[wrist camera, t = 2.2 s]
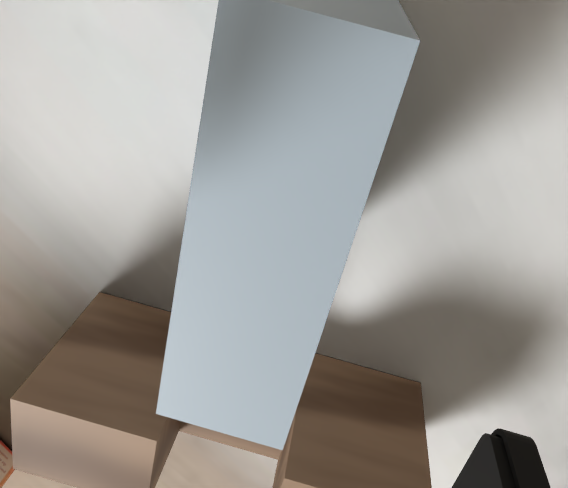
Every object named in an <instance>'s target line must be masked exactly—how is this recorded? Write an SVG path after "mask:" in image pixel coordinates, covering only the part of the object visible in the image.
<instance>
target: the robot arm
mask: <svg viewBox="0 0 568 488" xmlns="http://www.w3.org/2000/svg"><path fill="white" fill-rule="evenodd" d="M452 488H550V485H549V482H548V479H547V476H546V473H545V470H544V467H543V464H542V461H541V458H540V455H539V452H538V449H537V446H536V444H535V442H534V440H533V439H532V438H530V437H527V436H524V435H520V434H517V433H513V432H510V431H506V430H503V429H496V430H495V431H494V432H493V433H492V434H491V435H490V434H486V433H485V434H484V435H482V437H481V438H480V440H479V442H478V443H477V445H476V447H475V448H474V450H473V452H472V454H471V455H470V457H469V459H468V460H467V462H466V464H465V466H464V467H463V469H462V471H461V473H460V474H459V476H458V478H457V479H456V481H455V483H454V485H453V486H452Z"/></svg>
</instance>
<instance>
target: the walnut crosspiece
mask: <svg viewBox="0 0 568 488" xmlns="http://www.w3.org/2000/svg"><path fill="white" fill-rule="evenodd" d="M170 317H171V312H168V311H165V310H161V309H158V308H154V307H151V306H147V305H144V304H140V303H137V302H133V301H130V300H126V299H122V298H119V297H115V296H112V295H108V294H105V293H101V292H99V293H98V295H97V296H96V297H95V298H94V299H93V301H92V302H91V303H90V304H89V305H88V306H87V308H86V309H85V310H84V311H83V312H82V314H81V315H80V316H79V317H78V318H77V320H76V321H75V322H74V323H73V324H72V326H71V327H70V328H69V329H68V330H67V332H66V333H65V334H64V335H63V336H62V338H61V339H60V340H59V341H58V342H57V343H56V345H55V346H54V347H53V348H52V349H51V351H50V352H49V353H48V354H47V355H46V357H45V358H44V359H43V360H42V361H41V363H40V364H39V365H38V366H37V367H36V369H35V370H34V371H33V372H32V373H31V374H30V376H29V377H28V378H27V379H26V380H25V382H24V383H23V384H22V385H21V386H20V388H19V389H18V390H17V391H16V392H15V394H14V395H13V396H12V397H11V398H10V406H11V432H12V458H13V469H15V470H19V471H22V472H26V473H29V474H32V475H36V476H39V477H43V478H46V479H50V480H53V481H56V482H60V483H63V484H67V485H70V486H73V487H77V488H155V486H156V483H157V481H158V479H159V476H160V474H161V472H162V469H163V467H164V465H165V462H166V460H167V457H168V455H169V453H170V450H171V448H172V446H173V443H174V441H175V438H176V436H177V434H178V431H181V432H184V433H188V434H191V435H195V436H198V437H202V438H205V439H209V440H212V441H215V442H219V443H222V444H226V445H229V446H233V447H236V448H240V449H243V450H247V451H250V452H254V453H257V454H260V455H264V456H267V457H271V458H274V459H278V463H277V468H276V473H275V478H274V483H273V488H431V478H430V468H429V459H428V449H427V439H426V430H425V420H424V410H423V401H422V391H421V383H419V382H415V381H412V380H408V379H405V378H401V377H398V376H394V375H391V374H387V373H384V372H380V371H377V370H373V369H370V368H366V367H362V366H359V365H355V364H352V363H348V362H345V361H341V360H338V359H334V358H331V357H327V356H324V355H320V354H317V353H315V355H314V358H313V361H312V364H311V367H310V370H309V373H308V376H307V379H306V382H305V385H304V388H303V391H302V394H301V397H300V400H299V403H298V406H297V409H296V412H295V415H294V418H293V421H292V424H291V427H290V430H289V433H288V436H287V439H286V442H285V445H284V448H283V450H279V449H276V448H273V447H269V446H266V445H262V444H259V443H255V442H252V441H248V440H245V439H241V438H238V437H234V436H231V435H228V434H224V433H221V432H217V431H214V430H210V429H207V428H203V427H200V426H196V425H193V424H189V423H186V422H183V421H179V420H176V419H172V418H169V417H165V416H162V415H158V414H156V409H157V402H158V396H159V389H160V383H161V376H162V370H163V363H164V356H165V350H166V343H167V337H168V330H169V324H170Z"/></svg>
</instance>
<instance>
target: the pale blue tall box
mask: <svg viewBox="0 0 568 488" xmlns="http://www.w3.org/2000/svg"><path fill="white" fill-rule="evenodd" d="M419 43H420V39H419V37H418V36H417V34H416V32H415V30H414V28H413V26H412V24H411V23H410V21H409V19H408V17H407V15H406V13H405V12H404V10H403V8H402V6H401V4H400V2H399V1H398V0H219V2H218V9H217V15H216V22H215V28H214V35H213V42H212V48H211V55H210V61H209V68H208V74H207V81H206V87H205V94H204V101H203V107H202V114H201V120H200V127H199V133H198V140H197V147H196V153H195V160H194V166H193V173H192V179H191V186H190V192H189V199H188V206H187V212H186V219H185V225H184V232H183V238H182V245H181V251H180V258H179V265H178V271H177V278H176V284H175V291H174V297H173V304H172V311H171V317H170V324H169V330H168V337H167V343H166V350H165V356H164V363H163V370H162V376H161V383H160V389H159V396H158V402H157V409H156V414H158V415H162V416H165V417H169V418H172V419H176V420H179V421H183V422H186V423H189V424H193V425H196V426H200V427H203V428H207V429H210V430H214V431H217V432H221V433H224V434H228V435H231V436H234V437H238V438H241V439H245V440H248V441H252V442H255V443H259V444H262V445H266V446H269V447H273V448H276V449H279V450H283V448H284V445H285V442H286V439H287V436H288V433H289V430H290V427H291V424H292V421H293V418H294V415H295V412H296V409H297V406H298V403H299V400H300V397H301V394H302V391H303V388H304V385H305V382H306V379H307V376H308V373H309V370H310V367H311V364H312V361H313V358H314V355H315V352H316V350H317V347H318V344H319V341H320V338H321V335H322V332H323V329H324V326H325V323H326V320H327V317H328V314H329V311H330V308H331V305H332V302H333V299H334V296H335V293H336V290H337V287H338V284H339V281H340V278H341V275H342V272H343V269H344V266H345V263H346V260H347V257H348V254H349V251H350V248H351V245H352V242H353V239H354V236H355V233H356V230H357V228H358V225H359V222H360V219H361V216H362V213H363V210H364V207H365V204H366V201H367V198H368V195H369V192H370V189H371V186H372V183H373V180H374V177H375V174H376V171H377V168H378V165H379V162H380V159H381V156H382V153H383V150H384V147H385V144H386V141H387V138H388V135H389V132H390V129H391V126H392V123H393V120H394V117H395V114H396V111H397V108H398V106H399V103H400V100H401V97H402V94H403V91H404V88H405V85H406V82H407V79H408V76H409V73H410V70H411V67H412V64H413V61H414V58H415V55H416V52H417V49H418V46H419Z"/></svg>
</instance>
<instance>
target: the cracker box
mask: <svg viewBox="0 0 568 488" xmlns="http://www.w3.org/2000/svg"><path fill="white" fill-rule="evenodd" d="M14 470H15V469H13V458H12V451H11V450H10V449H9V448H8V447H7V446H6V445H5V444H4V443H3V442H2V441H1V440H0V488H2V486H3V485H4V484H5V482H6V481H7V479H8V478H9V477H10V475H11V474H12V473H13V471H14Z"/></svg>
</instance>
